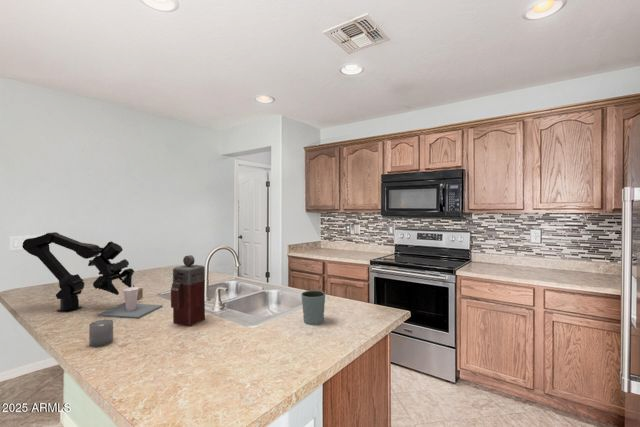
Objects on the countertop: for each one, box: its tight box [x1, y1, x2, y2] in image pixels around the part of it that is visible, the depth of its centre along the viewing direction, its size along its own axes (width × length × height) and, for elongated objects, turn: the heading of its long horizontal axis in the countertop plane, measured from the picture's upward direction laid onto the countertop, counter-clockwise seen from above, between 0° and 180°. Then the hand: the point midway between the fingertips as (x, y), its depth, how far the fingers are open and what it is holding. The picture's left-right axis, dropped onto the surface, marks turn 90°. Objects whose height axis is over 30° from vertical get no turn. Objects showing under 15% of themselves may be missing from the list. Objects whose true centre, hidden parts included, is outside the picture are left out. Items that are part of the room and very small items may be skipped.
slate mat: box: [97, 302, 163, 320], centre depth 145 cm, size 20×16×1 cm
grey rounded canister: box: [88, 319, 114, 348], centre depth 112 cm, size 7×7×7 cm
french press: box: [170, 254, 206, 327], centre depth 132 cm, size 9×11×28 cm
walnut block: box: [137, 287, 144, 301], centre depth 164 cm, size 5×5×5 cm
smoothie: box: [122, 278, 140, 311], centre depth 145 cm, size 6×6×14 cm
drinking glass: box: [300, 290, 326, 326], centre depth 134 cm, size 10×10×12 cm
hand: (126, 291), depth 145 cm, fingers open, 9 cm apart
